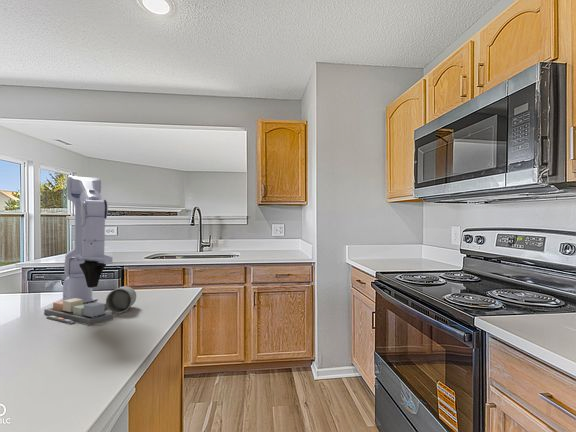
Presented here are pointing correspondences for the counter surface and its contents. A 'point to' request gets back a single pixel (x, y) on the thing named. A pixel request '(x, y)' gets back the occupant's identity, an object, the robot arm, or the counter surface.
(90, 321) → the keypad base
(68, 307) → the sand key
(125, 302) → the ceramic mug
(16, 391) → the counter surface
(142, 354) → the counter surface
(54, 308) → the terracotta key
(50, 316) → the strip
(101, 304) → the slate key
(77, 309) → the sage key
